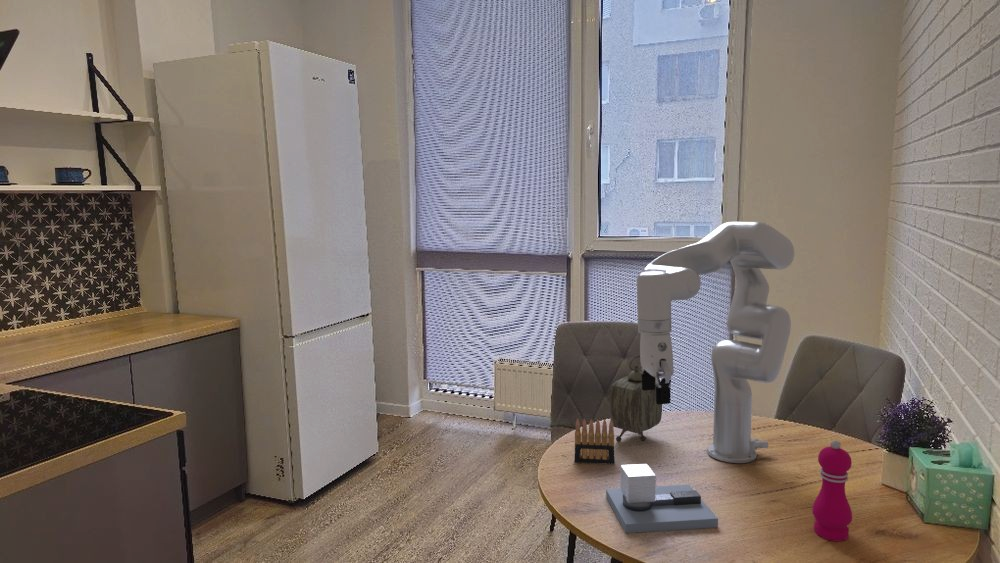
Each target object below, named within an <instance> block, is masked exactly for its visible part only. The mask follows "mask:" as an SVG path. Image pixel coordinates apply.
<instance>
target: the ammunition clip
mask: <svg viewBox="0 0 1000 563" xmlns="http://www.w3.org/2000/svg"><path fill="white" fill-rule="evenodd" d="M582 420H583V421H582V426H581V423H580V420H579V418H578V417H577V419H576V422H575V429H574V457H573V459H574V460H573V461H574V463H579V464H580V463H581V464H597V465H599V464H601V465H615V464H616V462H615V458H616V457H615V433H614V432H615V431H614V428H615V427H613V422H612V420H610V419H609V420H610V421H609V424H607V421H606V419H603V422H602V426H601V423H600V420H599V418H597V419H596V422H595V428H594V421H593V419H592V418H590V420H589V424H588V423H587V421H586V418H583V419H582ZM587 424H588V426H587ZM581 427H582V428H581ZM587 427H588V428H587ZM601 427H602V430H601Z"/></svg>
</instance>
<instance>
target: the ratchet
mask: <svg viewBox="0 0 1000 563" xmlns="http://www.w3.org/2000/svg"><path fill="white" fill-rule="evenodd" d="M701 499H702V495H700V493H699V492H698V491H697V490H696V489H695V490H694V489H693V491H676V492H670V494H661V495H655V502H639V503H628V502H627V500H626V498H625V497H624V495H623V506H624V507H625V508H627V509H629V510H632V511H638V512H642V511H647V510H650V509H651V508H652V506H665V505H689V504H701Z"/></svg>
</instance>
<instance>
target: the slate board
mask: <svg viewBox="0 0 1000 563" xmlns="http://www.w3.org/2000/svg"><path fill="white" fill-rule="evenodd" d="M693 490H694V489H693V487H692V486H690V484H675V485H673V484H672V485H659V486H658V485H657V486H656V487H655V495H661V494H670V492H676V491H693ZM605 498H606V499H607V502H608V503H609V505H610V507H611V509H612V511H613V513H614V512H615V513H614V514H616V515H615V516H616V518H617V520H618V522H619V524H620V523H621V524H620V526H621V525H622V526H621V527H623V528H622V529H623V531H624V533H625V534H634V533H635V532H638V533H650V532H665V531H666V532H668V531H681V530H699V529H713V528H719V517H717V515H716V514H715V513H714V511H712V510H711V509H710V507H709V506H708V505H707V504H706V502H704V500H703V499H702V498H701V504H689V505H665V506H652V508H651V509H650V510H647V511H642V512H638V511H632V510H629V509H627V508H625V507H624V506H623V493H622V492H621V487H619V488H607V489H605Z"/></svg>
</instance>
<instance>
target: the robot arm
mask: <svg viewBox="0 0 1000 563" xmlns="http://www.w3.org/2000/svg"><path fill="white" fill-rule="evenodd" d="M794 258H795V247H794V244H793V243H792V241H791V239H790V238H788V237H787V236H785V235H784V234H783V233H782V232H780V231H779V230H778V229H776V228H775V227H773V226H772V225H769V224H767V223H764V222H762V221H727V222H724V223H722V224H720V225H719V226H718V227H716V228H715V229H714V230H712V231H710V233H708V234H707V235H705V236H704V237H702V238H701V240H699V241H697V242H695V243H692V244H689V245H685V246H683V247H680V248H677V249H674V250H670V251H668V252H665V253H664V254H662V255H660V256H658V257H657V258H655V259H653V260H652V261H651V262H650V263H648V264H647V265H646V266H645V267H644V268H643V270H642V271H641V272H640V273H639V274H638V275H637V278H636V296H637V297H636V299H637V300H636V303H637V304H636V305H637V332H638V333H639V334H640V338H639V339H640V340H639V355H640V357H639V361H640V365H641V366H642V367H641V368H640V371H641V373H642V390H644V391H645V390H655V380H656V383H657V387H656V403H657V404H658V405H659V404H662V405H666V404H667V405H668V404H669V405H670V403H671V387H672V385H671V384H672V376H673V375H674V368H675V367H674V354H673V353H674V352H673V343H672V337H671V333H672V329H673V328H672V301H686V300H690V299H692V298H694V297H695V296H697V294H699V291H700V289H701V286H702V282H701V278H700V276H702V275H709V274H712V273H716V272H717V271H719V270H720V269H722V268H723V267H724V266H725V265H727V263H728V262H730V265H731V268H732V270H733V272H734V276H735V289H734V293H733V296H732V300H731V304H730V308H729V311H728V316H727V320H726V328H727V330H728V331H729V333H730V334H732V335H734V336H737V337H740V338H746V339H751V340H757V341H761V344H757V343H752V342H749V341H743V340H737V339H736V340H735V339H723V340H720V341H718V342H717V343H715V345H713V347H712V349H711V357H710V358H711V366H712V371H713V378H714V380H713V381H714V393H713V394H714V396H713V397H714V399H713V430H712V431H713V433H712V434H713V435H712V440H713V441H712V443H709V445H707V447H706V452H707V454H708V455H709V456H710V457H712V458H713V459H715V460H717V461H721V462H725V463H732V464H746V463H751V462H753V461H755V460H756V459H757V451H756V450H758V449H768V447H769V442H768V441H767V440H759V438H757V437H755V438H752V412H753V411H752V410H753V408H752V407H753V406H752V405H753V392H752V388H751V386H750V385H751V384H749V381H752V382H753V381H754V382H758V383H764V384H770V383H773V382H775V381H776V380H777V378H778V377H779V375H780V373H781V369H782V365H783V362H784V358H785V354H786V350H787V347H788V343H789V338H790V334H791V330H792V323H791V316H790V314H789V312H788V311H787V309H785V308H784V307H782V306H779V305H773V304H767V302H768V298H769V293H770V285H769V282H768V280H767V278H766V276H765V274H764V273H763V272H762V270H761V269H763V270H777V271H779V270H784V269H787V268H788V267H789V266H790V265H792V263H793V261H794ZM660 379H661V380H660Z"/></svg>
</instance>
